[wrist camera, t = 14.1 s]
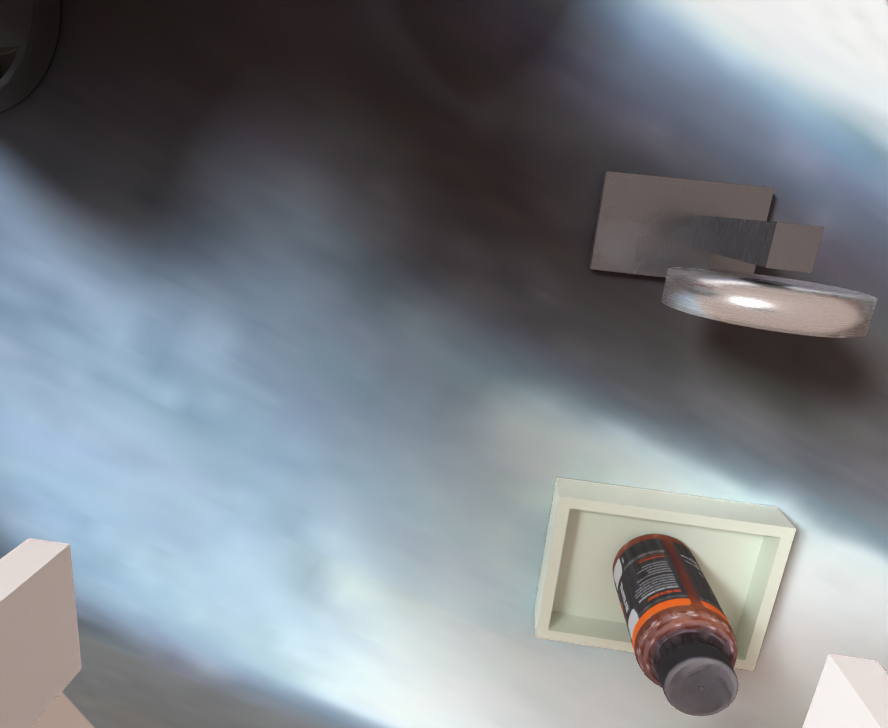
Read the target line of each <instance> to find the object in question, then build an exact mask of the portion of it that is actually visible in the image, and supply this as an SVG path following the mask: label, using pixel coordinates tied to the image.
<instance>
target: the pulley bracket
mask: <svg viewBox="0 0 888 728" xmlns="http://www.w3.org/2000/svg"><path fill="white" fill-rule="evenodd" d="M773 192H774V188H771V187H761V186H751V185H741V184H730V183H720V182H710V181H700V180H690V179H680V178H670V177H660V176H650V175H640V174H630V173H620V172H609V171H606V172H604V176H603V182H602V188H601V194H600V200H599V206H598V212H597V218H596V224H595V230H594V236H593V242H592V248H591V254H590V260H589V266H588V268H590V269H593V270H602V271H611V272H621V273H630V274H639V275H648V276H657V277H666V281H665V286H664V291H663V296H662V302H663V303H664V304H665V305H667V306H669V307H672V308H674V309H677V310H680V311H683V312H686V313H689V314H693V315H696V316H700V317H704V318H708V319H712V320H717V321H721V322H726V323H731V324H736V325H741V326H746V327H752V328H757V329H764V330H770V331H776V332H783V333H791V334H799V335H808V336H818V337H833V338H857V337H863V336H866V334H867V332H868V328H869V325H870V322H871V318H872V315H873V312H874V308H875V305H876V302H877V298H876V297H874V296H872V295H869V294H865V293H862V292H858V291H854V290H849V289H845V288H840V287H835V286H830V285H825V284H819V283H814V282H808V281H802V280H795V279H789V278H782V277H775V276H768V275H761V274H754V271H755V267H756V265H757V266H761V267H764V268H772V269H781V270H790V271H800V272H809V273H812V270H813V266H814V263H815V259H816V255H817V252H818V248H819V244H820V241H821V237H822V233H823V229H824V227H819V226H809V225H799V224H790V223H780V222H769V221H767V217H768V213H769V209H770V205H771V201H772V197H773Z"/></svg>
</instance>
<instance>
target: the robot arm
mask: <svg viewBox="0 0 888 728" xmlns="http://www.w3.org/2000/svg"><path fill="white" fill-rule="evenodd" d="M59 24H60V0H0V112H2V111H5V110H7V109H9V108H11V107H13V106H15V105H16V104H18V103H19V102H21V101H22V100H23V99H24V98H25V97H27V96H28V95H29V94H30V93H31V92H32V91H33V90H34V88H35V87H36V86H37V85H38V83H39V82H40V81H41V79H42V78H43V76H44V74H45V73H46V71H47V69H48V67H49V65H50V62H51V60H52V57H53V54H54V51H55V48H56V43H57V39H58V33H59ZM81 669H82V668H81V657H80V647H79V636H78V625H77V615H76V604H75V594H74V583H73V572H72V562H71V551H70V544H66V543H59V542H52V541H45V540H39V539H32V538H28V539H27V540H26V541H24V542H23V543H22V544H20V545H19V546H17V547H16V548H15V549H13V550H12V551H11V552H9V553H8V554H7V555H5V556H4V557H3V558H1V559H0V728H30V727H32V725H33V724H34V723H35V722H36V721H37V719H38V718H39V717H40V716H41V715H42V714H43V713H44V712H45V710H46V709H47V708H48V707H49V706H50V705H51V703H52V702H53V701H54V700H55V699H56V698H57V697H58V695H59V694H60V693H61V692H62V691H63V690H64V689H65V687H66V686H67V685H68V684H69V683H70V682H71V680H72V679H73V678H74V677H75V676H76V675H77V674H78V672H79V671H80V670H81ZM802 728H888V674H887V673H886V672H885V671H884V669H883V668H882V667H881V665H880V664H879V663H878V662H877V660H871V659H864V658H857V657H850V656H843V655H836V654H828V657H827V660H826V662H825V665H824V668H823V671H822V674H821V677H820V679H819V682H818V685H817V688H816V691H815V694H814V696H813V699H812V702H811V705H810V708H809V710H808V713H807V716H806V719H805V722H804V725H803V727H802Z"/></svg>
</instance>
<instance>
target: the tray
mask: <svg viewBox="0 0 888 728" xmlns="http://www.w3.org/2000/svg"><path fill="white" fill-rule="evenodd" d="M795 532H796V528H795V527H794V525H793V524H792V523H791V522H790V521H789V520H788V519H787V517H786V516H785V515H784V514H783V513H782V512H781V511H780V509H779V508H778V507H774V506H767V505H759V504H752V503H744V502H737V501H730V500H722V499H715V498H707V497H700V496H693V495H685V494H678V493H671V492H663V491H656V490H648V489H641V488H634V487H626V486H619V485H611V484H604V483H597V482H589V481H582V480H574V479H567V478H560V477H556V483H555V489H554V495H553V501H552V507H551V513H550V518H549V524H548V530H547V536H546V542H545V548H544V554H543V560H542V566H541V572H540V578H539V584H538V590H537V596H536V602H535V608H534V619H535V634H536V638H541V639H548V640H554V641H561V642H567V643H574V644H580V645H587V646H593V647H600V648H606V649H613V650H619V651H626V652H632V653H635V652H634V649H633V646H632V643H631V639H630V635H629V632H628V628H627V624H626V621H625V618H624V614H623V611H622V608H621V604H620V601H619V598H618V594H617V591H616V587H615V583H614V578H613V570H612V569H613V563H614V559H615V557H616V555H617V553H618V551H619V550H620V549H621V548H622V547H623V546H624V545H625V544H626V543H627V542H629V541H630V540H632V539H634V538H636V537H639V536H642V535H646V534H663V535H667V536H670V537H673V538H675V539H677V540H679V541H681V542H682V543H683V544H684V545H685V546H687V548H688V549H689V550H690V551H691V553H692V555H693V556H694V557H695V559H696V561H697V563H698V565H699V566H700V569H701V571H702V572H703V574H704V576H705V578H706V580H707V582H708V584H709V586H710V587H711V589H712V591H713V593H714V595H715V597H716V599H717V601H718V603H719V605H720V606H721V608H722V610H723V612H724V614H725V616H726V617H727V620H728V622H729V624H730V626H731V628H732V630H733V632H734V635H735V638H736V641H737V646H738V655H737V660H736V663H735V666H734V668H736V669H742V670H749V671H754V669H755V666H756V663H757V659H758V656H759V652H760V649H761V646H762V642H763V639H764V636H765V632H766V629H767V626H768V622H769V619H770V616H771V612H772V609H773V605H774V602H775V599H776V595H777V592H778V589H779V585H780V582H781V579H782V575H783V572H784V569H785V565H786V562H787V558H788V555H789V552H790V548H791V545H792V542H793V538H794V535H795Z"/></svg>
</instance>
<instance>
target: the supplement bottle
mask: <svg viewBox="0 0 888 728" xmlns="http://www.w3.org/2000/svg"><path fill="white" fill-rule="evenodd" d="M612 570H613V578H614V583H615V587H616V591H617V594H618V598H619V601H620V604H621V608H622V611H623V614H624V618H625V621H626V624H627V628H628V632H629V635H630V639H631V643H632V646H633V649H634V652H635V656H636V659H637V661H638V664H639V666H640V667H641V669H642V671H643V672H644V674H645V675H646V676H647V677H648V678H649V679H650V680H651V681H653V682H654V683H655V684H657V685H659V686H660V687H662V688H663V690H664V693H665V695H666V697H667V700H668V701H669V702H670V703H671V705H672V706H674V707H675V708H676V709H678V710H679V711H681V712H683V713H686V714H690V715H695V716H706V715H712V714H715V713H718V712H720V711H721V710H723V709H725V708H726V707H728V706H729V705H730V704H731V703H732V702H733V700H734V699H735V697H736V694H737V691H738V681H737V677H736V674H735V672H734V670H733V668H734V666H735V663H736V660H737V655H738V646H737V641H736V638H735V635H734V632H733V630H732V628H731V626H730V624H729V622H728V620H727V617H726V616H725V614H724V612H723V610H722V608H721V606H720V605H719V603H718V601H717V599H716V597H715V595H714V593H713V591H712V589H711V587H710V586H709V584H708V582H707V580H706V578H705V576H704V574H703V572H702V571H701V569H700V566H699V565H698V563H697V561H696V559H695V557H694V556H693V555H692V553H691V551H690V550H689V549H688V548H687V546H685V545H684V544H683V543H682V542H681V541H679V540H677V539H675V538H673V537H670V536H667V535H663V534H646V535H642V536H639V537H636V538H634V539H632V540H630V541H629V542H627V543H626V544H625V545H624V546H623V547H622V548H621V549H620V550H619V551H618V553H617V555H616V557H615V559H614V563H613V569H612Z"/></svg>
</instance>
